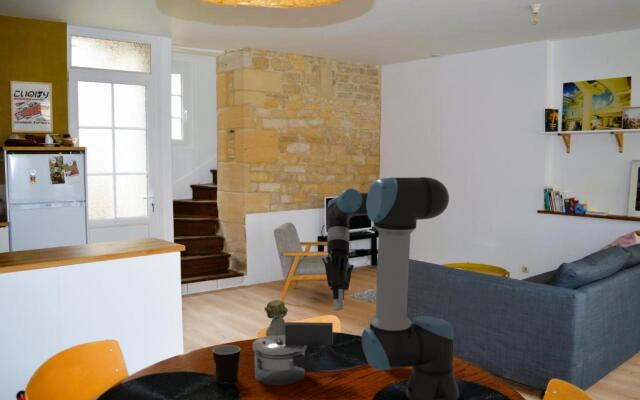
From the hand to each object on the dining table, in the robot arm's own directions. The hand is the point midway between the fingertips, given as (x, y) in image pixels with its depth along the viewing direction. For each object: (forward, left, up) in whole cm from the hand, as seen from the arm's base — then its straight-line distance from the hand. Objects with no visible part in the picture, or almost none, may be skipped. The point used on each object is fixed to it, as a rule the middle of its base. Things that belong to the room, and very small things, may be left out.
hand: (338, 309), depth 191 cm
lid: (+10, +12, -11) cm, 19 cm away
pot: (+10, +14, -21) cm, 27 cm away
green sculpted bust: (+30, -3, -21) cm, 37 cm away
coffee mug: (+24, +26, -21) cm, 41 cm away
